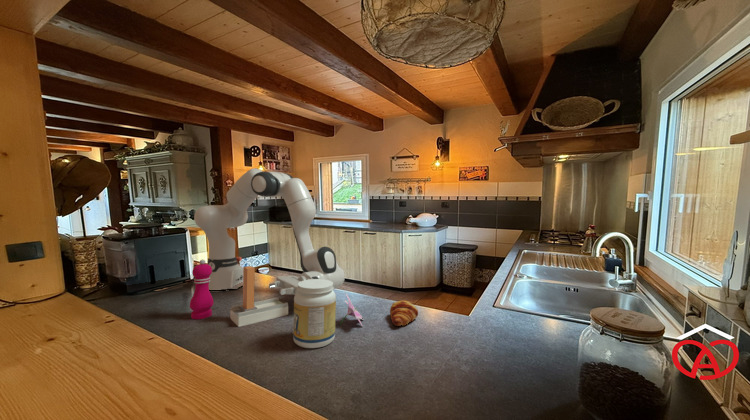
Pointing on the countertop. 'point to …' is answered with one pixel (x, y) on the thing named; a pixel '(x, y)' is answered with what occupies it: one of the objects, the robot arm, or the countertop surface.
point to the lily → (352, 311)
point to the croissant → (403, 312)
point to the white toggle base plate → (259, 312)
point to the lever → (248, 289)
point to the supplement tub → (314, 313)
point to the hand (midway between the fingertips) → (274, 289)
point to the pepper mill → (201, 292)
